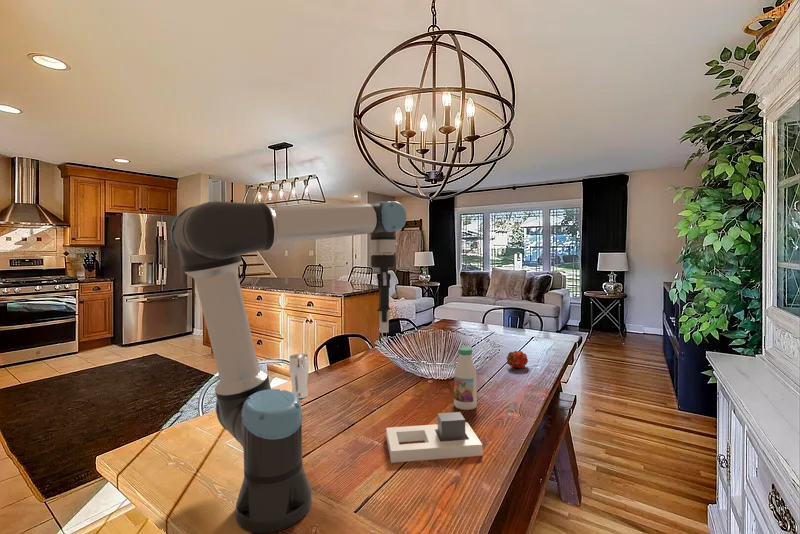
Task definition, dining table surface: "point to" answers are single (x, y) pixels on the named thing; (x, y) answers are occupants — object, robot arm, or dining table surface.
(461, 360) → the milk bottle
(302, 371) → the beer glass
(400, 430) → the socket plate
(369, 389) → the dining table surface
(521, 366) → the dragon fruit
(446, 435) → the plug
